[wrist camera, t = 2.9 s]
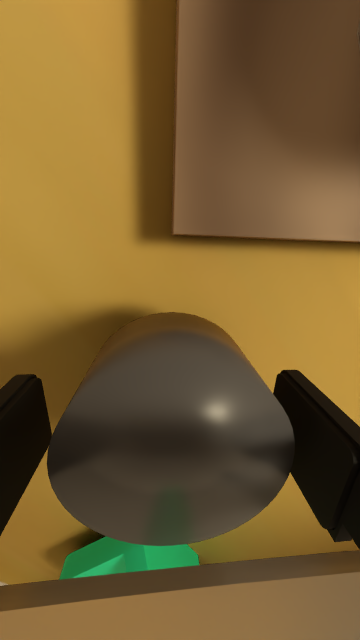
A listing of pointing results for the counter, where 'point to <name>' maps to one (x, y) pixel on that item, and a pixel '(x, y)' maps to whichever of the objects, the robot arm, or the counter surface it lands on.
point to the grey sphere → (170, 436)
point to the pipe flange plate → (267, 120)
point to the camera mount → (124, 558)
